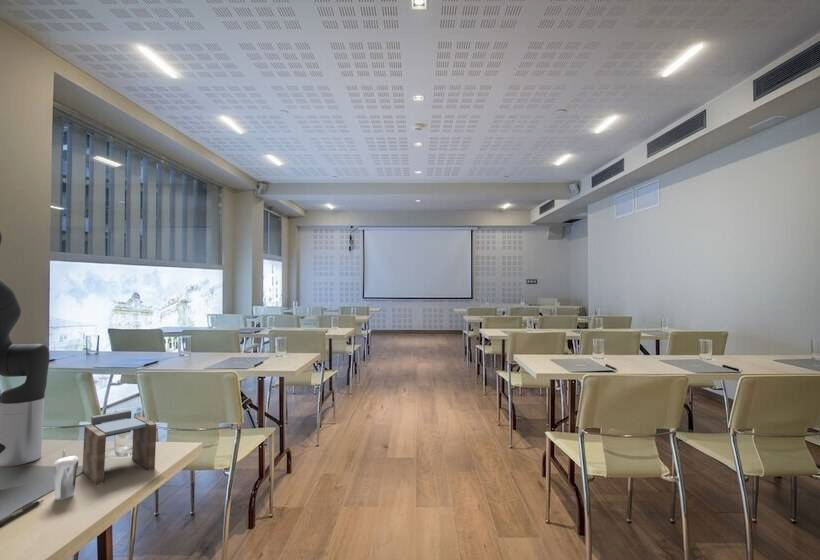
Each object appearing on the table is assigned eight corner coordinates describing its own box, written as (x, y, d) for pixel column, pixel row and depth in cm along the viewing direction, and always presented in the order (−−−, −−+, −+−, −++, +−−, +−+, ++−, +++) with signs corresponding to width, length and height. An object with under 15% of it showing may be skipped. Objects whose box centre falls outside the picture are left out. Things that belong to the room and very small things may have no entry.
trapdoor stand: (82, 470, 108) (84, 425, 109) (137, 456, 118) (139, 415, 119) (96, 484, 100) (98, 435, 101) (154, 468, 110) (156, 423, 111)
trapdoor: (89, 438, 111) (90, 416, 112) (129, 430, 119) (129, 409, 119) (104, 449, 103) (105, 426, 103) (145, 440, 110) (146, 418, 111)
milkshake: (73, 489, 97) (75, 447, 98) (79, 496, 94) (81, 453, 95) (48, 496, 94) (51, 453, 94) (53, 503, 91) (56, 458, 91)
